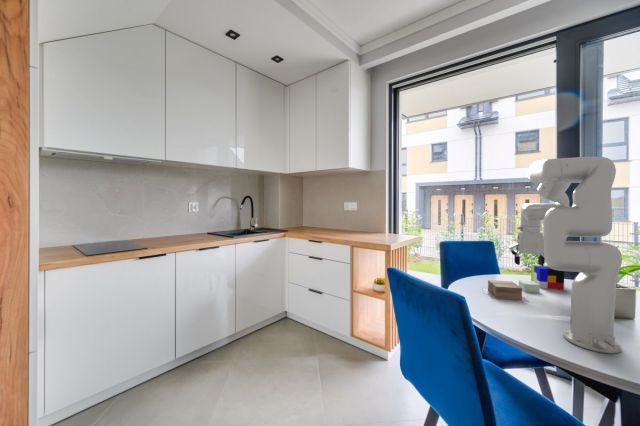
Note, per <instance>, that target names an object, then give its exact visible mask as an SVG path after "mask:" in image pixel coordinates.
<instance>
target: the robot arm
mask: <svg viewBox="0 0 640 426" xmlns="http://www.w3.org/2000/svg"><path fill="white" fill-rule="evenodd" d="M616 173H617V168H616V165H615V163H614V161H613V160H611V158H608V157H604V156H603V157H602V156H576V157H561V158H557V157H556V158H548V159H541V160H536V161H534V162H533V163H532V164H530V166H529V168H528V171H527V179H528V180H529V182H530V183H533V184H539V185H538V187H537V192H538V194H539V196H540V197H542V198H544V199H546V200H548V201H550V202H554V203H550V202H549V203H523V204H521V208H520V225H519V226H517V228H516V229H517V230H519V231H518V234H517V237H516V243H515V244H511V245H510V246H508V249H509V251H510V253H511V254H512V255H513V256H514V257H513V258H514V259H513V260H514V263H515V265H517V266H520V264H521V257H520V255H522V254H526V255H527V254H529V255H530V254H531V255H532V254H533V255H539V256H538V260H537V261H538V263H537V264H539V265H541V266H544V265H548V266H549V267H550V268H551V269H554V270H559V271H564V272H573V273H575V272H576V273H577V272H578V274H577V275H575V277H574V279H573V280H572V283H571V287H570V288H571V291H570V317H569V318H570V319H569V321H570V322H569V329H566V330H564V331H563V334H562V335H563V337H564V338H565V340H566V341H568V342H570V343H571V344H573V345H576V346H578V347H580V348H583V349H586V350H589V351H593V352H598V353H603V354H618V353H620V352H621V350H622V346H621V344H619V343H618V342H617V341H616V337H615V336H614V332H615V331H614V330H615V312H616V311H615V309H616V293H617V291H616V290H617V282H618V277H619V274H620V269H621V266H622V264H623V263H622V262H623V255H622V252H621V250H620V249H619V248H618V247H616V246H615V245H613V244H611V243H608V242H604V241H602V242H601V241H586V240H585V241H584V240H577V241H576V240H567V239H568V237H571V238H573V237H575V238H577V237H579V238H600V237H605V236H608V235H610V233H611V232H612V229H613V207H612V206H613V204H612V188H613V184H614V182H615V179H616ZM577 183H578V185H577V186H576V187H575V189H574V190H573V192H572V205H571V206H570V199H569V196H568V194H567V193H566V192H567V190H568V189H569V187H570V186H571V184H577ZM542 221H543V225H542ZM541 226H543V232H541V231H542V230H541V229H542V227H541ZM514 249H515V250H516V251H515V250H514Z"/></svg>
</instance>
